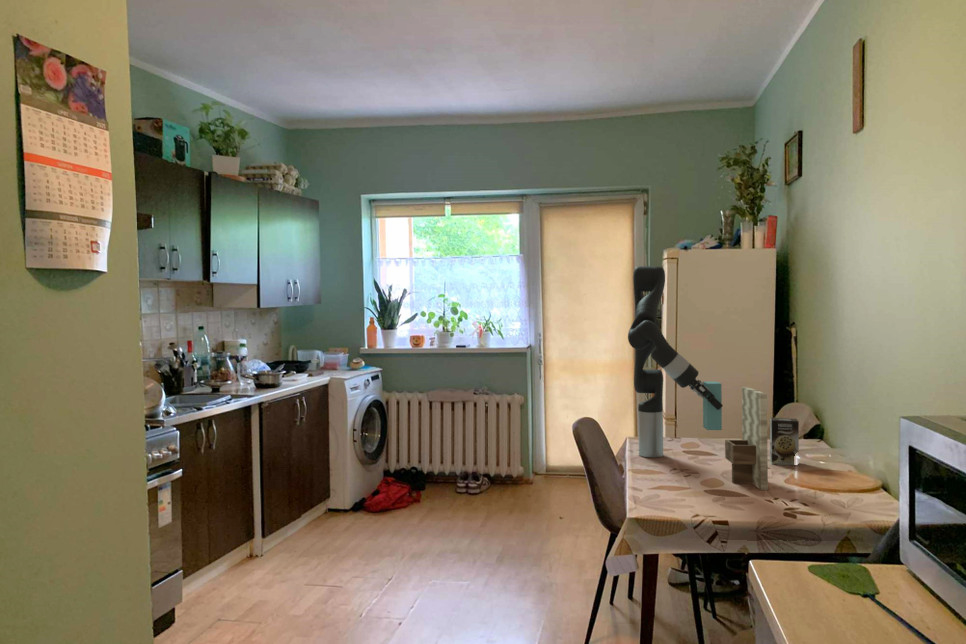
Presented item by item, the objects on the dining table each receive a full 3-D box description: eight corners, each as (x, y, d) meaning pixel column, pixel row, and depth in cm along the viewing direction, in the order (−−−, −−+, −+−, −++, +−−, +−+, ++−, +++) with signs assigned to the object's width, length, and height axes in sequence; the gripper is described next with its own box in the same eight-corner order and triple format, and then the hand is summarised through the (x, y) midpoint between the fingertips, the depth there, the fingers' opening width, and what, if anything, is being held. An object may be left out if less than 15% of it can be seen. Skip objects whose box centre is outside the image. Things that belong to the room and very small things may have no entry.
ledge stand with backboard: (721, 475, 227) (720, 387, 226) (748, 475, 226) (747, 386, 225) (738, 490, 209) (737, 394, 208) (767, 490, 208) (766, 394, 207)
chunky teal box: (703, 426, 220) (702, 381, 220) (717, 426, 220) (716, 381, 220) (707, 430, 215) (707, 383, 215) (721, 430, 215) (721, 383, 214)
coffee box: (771, 464, 240) (771, 420, 240) (769, 460, 246) (769, 417, 246) (799, 466, 237) (799, 421, 237) (797, 462, 243) (796, 418, 243)
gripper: (693, 364, 210) (732, 401, 210) (683, 359, 225) (720, 395, 224) (676, 380, 211) (715, 418, 210) (667, 375, 225) (704, 411, 225)
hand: (717, 406), depth 217 cm, fingers closed on chunky teal box, 5 cm apart
